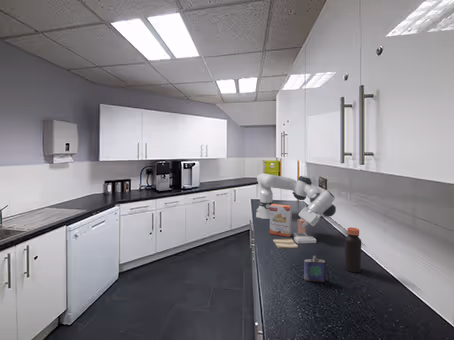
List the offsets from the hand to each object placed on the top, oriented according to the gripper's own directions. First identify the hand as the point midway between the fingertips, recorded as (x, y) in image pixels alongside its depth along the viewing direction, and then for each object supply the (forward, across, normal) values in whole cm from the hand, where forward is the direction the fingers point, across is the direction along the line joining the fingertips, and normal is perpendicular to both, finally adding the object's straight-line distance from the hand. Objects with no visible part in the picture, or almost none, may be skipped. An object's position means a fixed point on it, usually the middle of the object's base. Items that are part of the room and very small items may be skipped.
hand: (300, 225), depth 147 cm
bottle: (-1, -42, -13) cm, 44 cm away
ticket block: (+3, 0, -4) cm, 4 cm away
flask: (+15, -49, +3) cm, 51 cm away
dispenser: (+6, -3, -6) cm, 9 cm away
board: (+15, -10, +4) cm, 19 cm away
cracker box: (+14, +7, +2) cm, 16 cm away
